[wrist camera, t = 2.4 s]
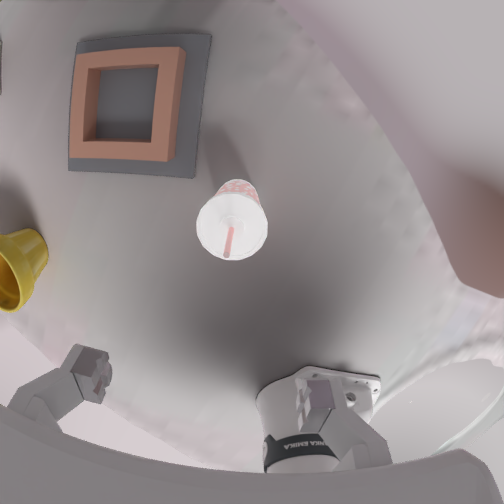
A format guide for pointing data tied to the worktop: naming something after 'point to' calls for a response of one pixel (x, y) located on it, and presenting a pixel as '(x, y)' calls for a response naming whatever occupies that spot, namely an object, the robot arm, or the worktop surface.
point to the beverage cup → (232, 222)
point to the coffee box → (0, 65)
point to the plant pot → (20, 267)
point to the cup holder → (138, 104)
